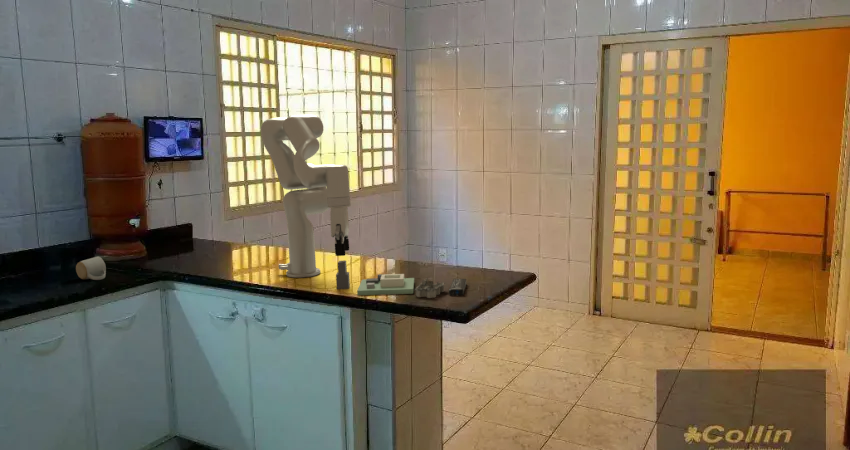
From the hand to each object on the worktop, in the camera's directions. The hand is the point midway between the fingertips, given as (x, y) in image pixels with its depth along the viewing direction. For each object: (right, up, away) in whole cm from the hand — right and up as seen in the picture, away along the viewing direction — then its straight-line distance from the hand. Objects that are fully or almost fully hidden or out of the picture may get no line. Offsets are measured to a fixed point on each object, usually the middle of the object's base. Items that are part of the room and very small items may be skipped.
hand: (342, 253), depth 209 cm
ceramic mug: (-99, -11, +30) cm, 104 cm away
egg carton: (+29, -13, -9) cm, 33 cm away
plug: (0, -12, +2) cm, 12 cm away
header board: (+15, -12, -1) cm, 19 cm away
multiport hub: (+39, -12, -5) cm, 41 cm away
